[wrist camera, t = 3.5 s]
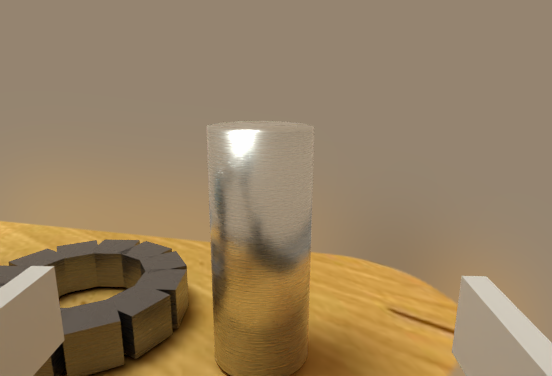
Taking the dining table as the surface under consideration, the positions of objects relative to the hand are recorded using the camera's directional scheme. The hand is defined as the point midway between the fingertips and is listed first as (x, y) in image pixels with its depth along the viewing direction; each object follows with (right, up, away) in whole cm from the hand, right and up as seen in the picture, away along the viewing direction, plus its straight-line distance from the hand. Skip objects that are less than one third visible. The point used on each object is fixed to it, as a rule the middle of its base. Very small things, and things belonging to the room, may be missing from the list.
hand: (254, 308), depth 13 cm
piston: (0, -5, +9) cm, 10 cm away
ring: (-11, -4, +12) cm, 17 cm away
